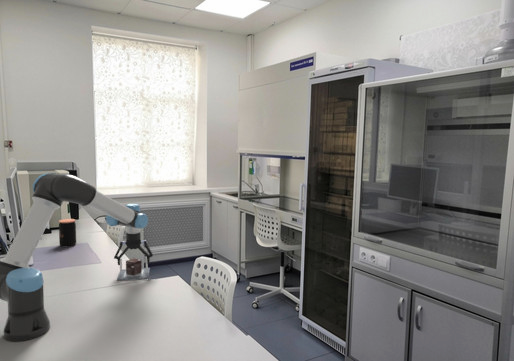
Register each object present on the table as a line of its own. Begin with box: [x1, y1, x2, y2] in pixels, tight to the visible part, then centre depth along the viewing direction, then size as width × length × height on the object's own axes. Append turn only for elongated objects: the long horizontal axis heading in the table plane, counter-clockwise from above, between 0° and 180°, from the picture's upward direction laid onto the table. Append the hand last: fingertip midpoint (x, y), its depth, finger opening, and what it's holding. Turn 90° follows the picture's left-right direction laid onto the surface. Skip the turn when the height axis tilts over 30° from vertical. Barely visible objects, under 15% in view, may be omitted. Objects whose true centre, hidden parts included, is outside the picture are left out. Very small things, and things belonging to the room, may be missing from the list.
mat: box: [116, 267, 151, 282], centre depth 207 cm, size 16×16×1 cm
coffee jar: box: [58, 218, 77, 247], centre depth 265 cm, size 11×11×18 cm
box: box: [125, 257, 143, 275], centre depth 207 cm, size 6×6×7 cm
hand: (133, 270), depth 207 cm, fingers open, 13 cm apart
